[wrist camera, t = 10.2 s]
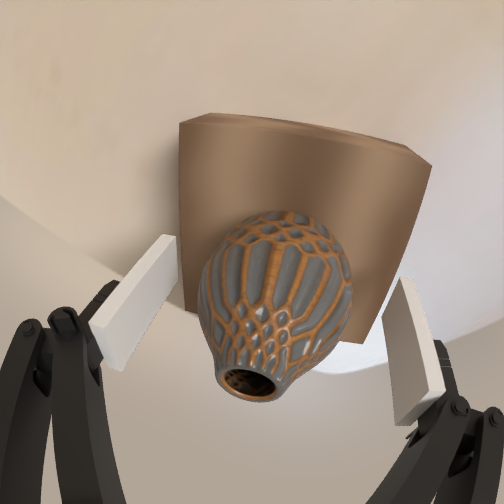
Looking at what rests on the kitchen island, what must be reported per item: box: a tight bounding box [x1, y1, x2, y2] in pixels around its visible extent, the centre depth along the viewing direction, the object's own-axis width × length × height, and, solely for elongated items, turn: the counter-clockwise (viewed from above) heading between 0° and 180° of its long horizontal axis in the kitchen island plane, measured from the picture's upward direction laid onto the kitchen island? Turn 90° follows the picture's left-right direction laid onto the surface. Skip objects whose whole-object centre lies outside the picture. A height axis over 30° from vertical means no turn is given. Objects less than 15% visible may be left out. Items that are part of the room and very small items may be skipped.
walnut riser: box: [179, 113, 432, 344], centre depth 19 cm, size 13×13×5 cm
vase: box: [198, 211, 353, 402], centre depth 13 cm, size 7×7×9 cm
